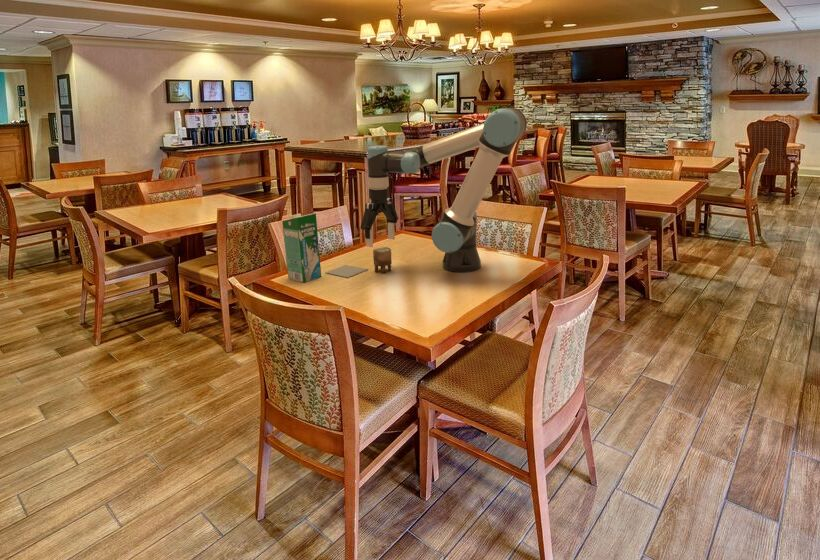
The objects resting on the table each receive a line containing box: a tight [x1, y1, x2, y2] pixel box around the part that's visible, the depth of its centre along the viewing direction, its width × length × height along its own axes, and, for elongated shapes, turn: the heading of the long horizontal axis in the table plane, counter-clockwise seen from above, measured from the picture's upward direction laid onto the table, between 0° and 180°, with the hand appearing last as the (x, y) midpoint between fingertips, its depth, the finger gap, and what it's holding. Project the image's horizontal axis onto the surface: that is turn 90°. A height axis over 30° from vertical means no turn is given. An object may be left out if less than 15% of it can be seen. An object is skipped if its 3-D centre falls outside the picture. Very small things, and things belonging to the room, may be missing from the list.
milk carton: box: [281, 213, 322, 283], centre depth 213 cm, size 9×9×25 cm
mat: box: [324, 264, 369, 279], centre depth 222 cm, size 12×12×1 cm
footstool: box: [372, 246, 393, 274], centre depth 220 cm, size 7×7×9 cm
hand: (380, 242), depth 218 cm, fingers open, 13 cm apart
